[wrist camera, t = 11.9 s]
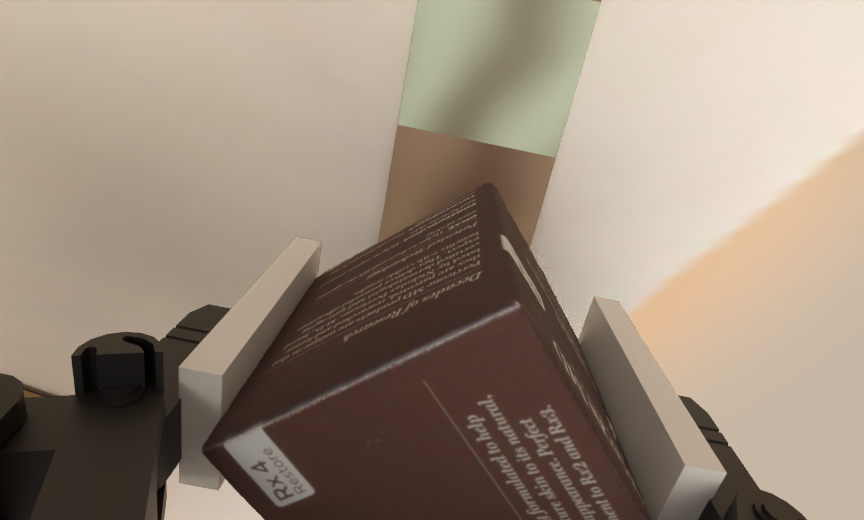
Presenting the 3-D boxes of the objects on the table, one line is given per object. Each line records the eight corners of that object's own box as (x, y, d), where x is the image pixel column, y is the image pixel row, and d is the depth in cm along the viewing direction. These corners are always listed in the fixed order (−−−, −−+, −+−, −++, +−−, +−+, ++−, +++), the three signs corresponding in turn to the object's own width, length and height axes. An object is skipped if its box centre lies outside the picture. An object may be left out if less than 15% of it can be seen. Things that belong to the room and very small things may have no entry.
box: (582, 343, 15) (681, 574, 9) (414, 416, 17) (386, 664, 10) (490, 173, 13) (526, 297, 7) (310, 271, 15) (187, 457, 8)
